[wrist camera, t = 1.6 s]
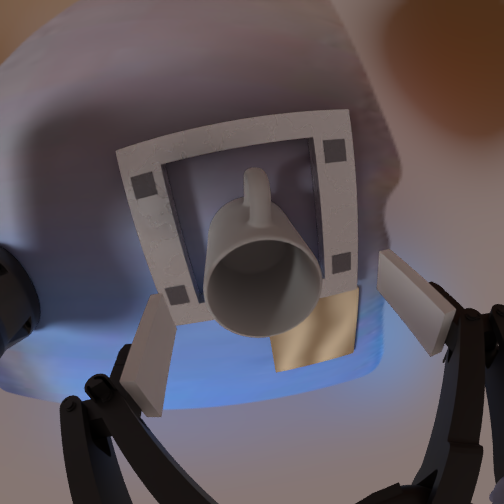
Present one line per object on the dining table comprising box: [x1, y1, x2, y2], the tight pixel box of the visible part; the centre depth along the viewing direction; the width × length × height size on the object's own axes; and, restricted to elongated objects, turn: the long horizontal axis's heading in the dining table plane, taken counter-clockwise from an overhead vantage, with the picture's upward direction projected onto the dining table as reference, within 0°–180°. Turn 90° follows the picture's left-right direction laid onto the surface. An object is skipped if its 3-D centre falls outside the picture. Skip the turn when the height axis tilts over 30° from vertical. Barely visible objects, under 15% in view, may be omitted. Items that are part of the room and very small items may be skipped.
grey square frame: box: [115, 109, 358, 326], centre depth 27 cm, size 22×20×2 cm
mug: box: [203, 167, 322, 338], centre depth 23 cm, size 12×8×11 cm
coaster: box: [270, 286, 359, 372], centre depth 35 cm, size 12×12×1 cm
